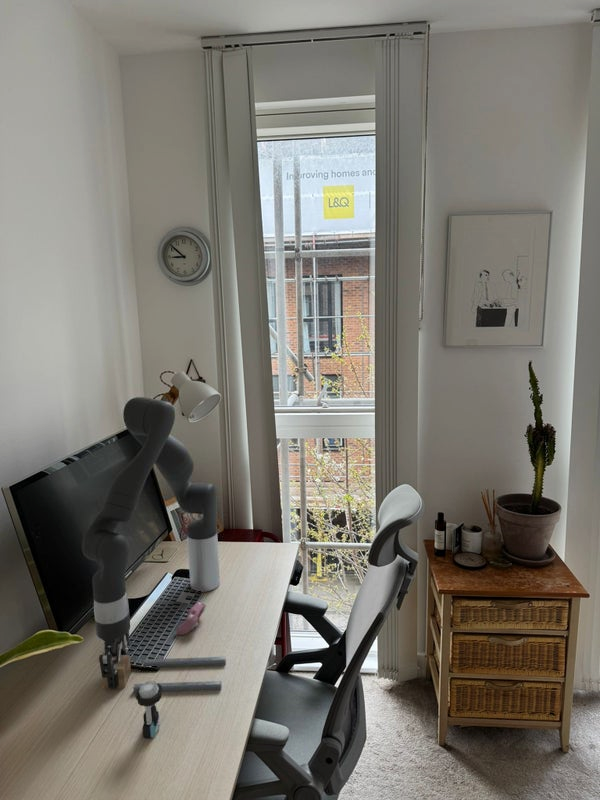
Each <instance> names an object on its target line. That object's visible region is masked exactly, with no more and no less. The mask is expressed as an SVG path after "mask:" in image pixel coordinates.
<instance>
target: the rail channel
mask: <svg viewBox="0 0 600 800" xmlns="http://www.w3.org/2000/svg"><path fill="white" fill-rule="evenodd" d="M142 664H143V668H144V669H145V668H146V666H149V665H150V666H152V665H153V666H157V667H156V668H168V667H169V668H174V667H175V668H176V667H203V666H205V667H206V666H226V665H227V657H226V656H211V657H210V656H209V657H208V656H206V657H180V658H177V657H176V658H153V659H152V658H150V659H144V660H143V663H142ZM146 669H147V668H146ZM157 683H158V684H160V685H161V686H162V693H168V692H171V693H172V692H197V691H200V692H201V691H221V690H222V686H223V685H222V681H221V680H216V681H215V680H213V681H212V680H211V681H210V680H209V681H185V682H184V681H183V682H181V681H180V682H157ZM142 684H143V683H134V684H133V688H132V689H133V694H136V691H137V690H138V688H139V687H141V685H142Z"/></svg>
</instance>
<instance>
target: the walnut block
mask: <svg viewBox="0 0 600 800" xmlns="http://www.w3.org/2000/svg"><path fill="white" fill-rule="evenodd" d="M130 657H131V656H130V654H127V655H120V662H119V663H118V669H117V670H118V682H119V685H118V687H117V688H116V689H125V688H126V687H127V684H128V681H129V680H130V676H131V674H132V667H131V659H130ZM116 658H117V656H116V657H113V659H116ZM113 666H114V664H113ZM101 678H102V677H101ZM102 686H103V687H102V688H103V689H104V690H105V689H110V688H109V687H108V680H107V678H102Z"/></svg>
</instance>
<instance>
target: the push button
mask: <svg viewBox="0 0 600 800" xmlns="http://www.w3.org/2000/svg"><path fill="white" fill-rule="evenodd" d="M158 683H159V682H156V681H152V680H151V681H146V682H144V683H141V684H142V685H141V687H139V688H138V690H137V691H136V693H135V698H136V701H137V704H138V705H140V706H141V707H142V706H143V707H144V708H145V711H144V713H143V717H142V718H143V725H142V736H143V739H151V738H152V739H153V738H155V734H156V731H157V729H158V730H160V727H161V721H160V719H159V718H160V714H159V709H158V708H157V706H156V704H157V703H158V702H159V701H160V700H161V699H162V694H163V692H162V686H161V685H160V684H158Z"/></svg>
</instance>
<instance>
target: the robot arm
mask: <svg viewBox="0 0 600 800" xmlns="http://www.w3.org/2000/svg"><path fill="white" fill-rule="evenodd" d="M122 415H123V416H122V418H123V423H124V425H125V427H126V429H127V431H128V432H129V433H130V434H131V435H132V437H134V438H135V440H136V441H137V442H138V443H139V444H140V445H141V446H142V448H141V449H140V450H139V452H138V453H137V454H136V455H135V457H133V459H132V460H130V462H128V463H127V464H126V465H125V467H124V468H122V469H121V470H120V471H118V473H117V475H116V476H115V477H114V479H113V480H112V483H111V485H110V487H109V488H108V492H107V494H106V497H105V500H104V503H103V505H102V508H101V510H100V511H99V513H98V514H97V516H96V517H95V518H94V520H93V522H92V523H91V525H89V527H88V529H87V531H86V532H85V533H84V536H83V539H82V543H81V550H82V554H83V555H84V557H85V558H86V559H88V560H90V561H92V562H97V563H99V564H100V563H101V564H102V568H100V569H99V570H97V571H96V572H95V573H94V574H93V576H92V593H93V594H92V595H93V614H94V621H95V631H96V632H95V633H96V636H97V637H98V638H99V639H100V640H101V641H103V647H102V649H103V651H104V652H103V654H99V657H98V661H99V667H100V672H101V673H100V674H101V678H107V680H108V687H109V688H108V689H118V688H117V687H118V685H119V682H118V670H117V669H118V663H119V662H120V655H128V654H127V653H128V650H129V649H128V646H130V643H131V641H130V630H131V629H130V628H131V616H130V609H129V607H130V606H129V599H128V596H127V595H128V594H127V587H126V579H125V578H126V571H127V567H128V561H129V555H130V546H129V542H128V540H127V538H126V537H125V536H124V535H123V534H120V533H117V532H114V531H115V530H116V528H117V526H119V524H125V523H130V521H131V520H132V518H133V517H134V514H135V510H136V508H137V504H138V502H139V499H140V496H141V493H142V491H143V489H144V486H145V484H146V481H147V480H148V476H149V475H150V473H151V471H152V469H153V467H154V465H155V466H156V469H157V470H158V471H159V473H160V475H162V477H163V478H164V479H165V481H166V482H167V484H168V485H169V487H170V489H171V491H172V493H173V496H174V497H175V501H176V502H177V504H178V506H179V508H180V509H181V510H182V512H184V513H187V514H196V515H198V514H200V515H202V517H201V518H198V519H196V520H193V521H192V522H190V523H189V524H188V525H187V526H186V540H187V541H186V542H187V543H186V544H187V552H188V553H187V554H188V556H187V557H188V567H189V568H188V569H189V570H188V571H189V583H190V584H189V585H190V588H191V589H192V590H193V589H194V590H196V591H195V592H198V591H201V592H200V593H204V592H210V591H211V592H212V591H213V590H215V589H217V588H218V587H219V586H220V585H221V576H220V574H221V573H220V559H219V558H220V556H219V544H218V543H219V542H218V539H219V538H218V529H217V528H218V493H217V488H216V486H215V485H214V484H213V483H207V482H205V483H204V482H201V483H200V482H190V481H189V480H190V478H191V476H192V475H193V473H194V465H195V464H194V460H193V458H192V456H191V455H190V452H189V451H188V449H187V447H186V446H185V445H184V444H183V443H182V442H181V441H180V440H178V439H177V438H175V436H173V435H171V432H172V429H173V427H174V424H175V421H176V420H175V419H176V411H175V408H174V405H173V404H172V403H171V402H169V401H165V400H162V399H161V400H160V399H155V398H150V397H145V396H144V397H143V396H139V397H137V396H136V397H133V398H131V399H129V400H128V401H127V402H126V404H125V405H124V408H123V412H122ZM194 590H193V591H194ZM116 656H117V658H116V659H113V657H116ZM113 664H114V666H113Z"/></svg>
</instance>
